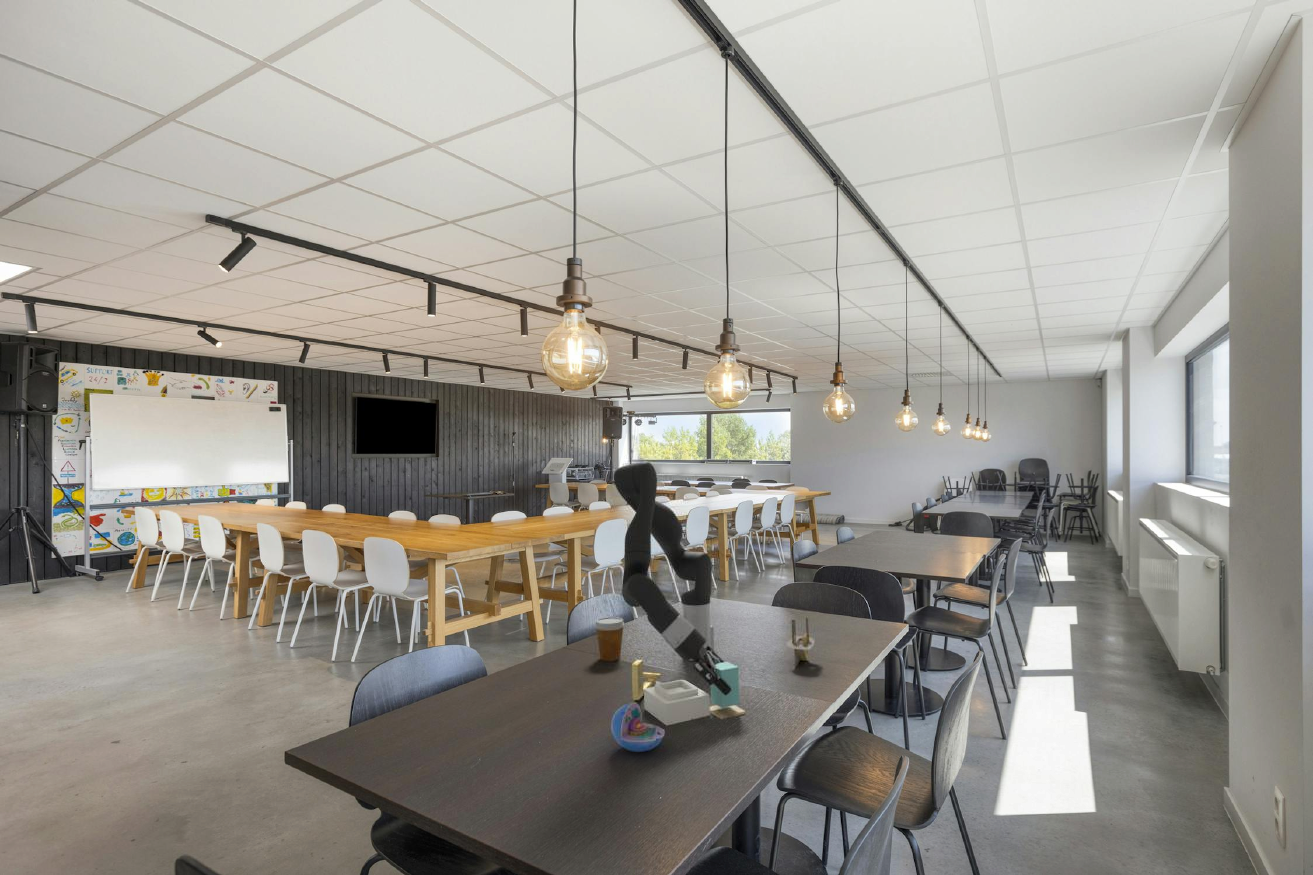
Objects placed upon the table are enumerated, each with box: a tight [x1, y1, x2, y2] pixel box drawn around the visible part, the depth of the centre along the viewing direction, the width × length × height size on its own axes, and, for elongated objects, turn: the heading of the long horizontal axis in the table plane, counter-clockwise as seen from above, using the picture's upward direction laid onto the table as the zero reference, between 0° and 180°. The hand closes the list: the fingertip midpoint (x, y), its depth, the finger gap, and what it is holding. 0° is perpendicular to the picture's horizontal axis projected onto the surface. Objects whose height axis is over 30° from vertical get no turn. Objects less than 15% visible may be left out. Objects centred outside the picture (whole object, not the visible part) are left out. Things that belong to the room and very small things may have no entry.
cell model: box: [610, 701, 665, 753], centre depth 140 cm, size 10×12×10 cm
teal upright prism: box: [710, 661, 740, 708], centre depth 160 cm, size 5×5×9 cm
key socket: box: [643, 680, 663, 687], centre depth 179 cm, size 6×6×1 cm
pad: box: [710, 704, 746, 720], centre depth 160 cm, size 7×7×1 cm
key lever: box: [631, 659, 662, 701], centre depth 174 cm, size 14×5×9 cm, turn 161°
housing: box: [643, 678, 711, 726], centre depth 160 cm, size 12×12×6 cm
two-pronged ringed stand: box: [786, 616, 816, 668], centre depth 196 cm, size 21×25×14 cm
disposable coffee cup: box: [594, 616, 625, 662], centre depth 206 cm, size 10×10×12 cm
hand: (730, 687), depth 159 cm, fingers closed on teal upright prism, 7 cm apart
